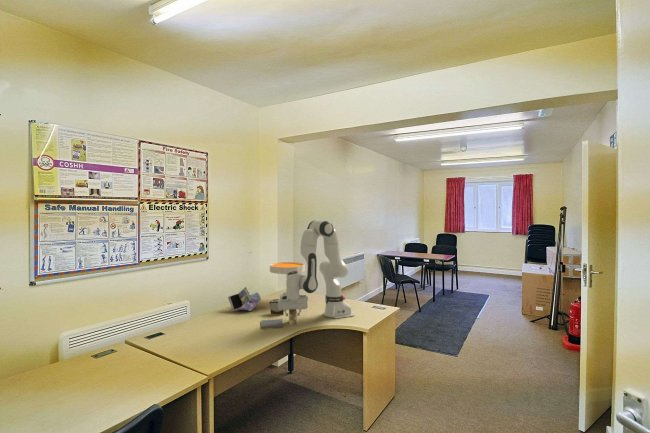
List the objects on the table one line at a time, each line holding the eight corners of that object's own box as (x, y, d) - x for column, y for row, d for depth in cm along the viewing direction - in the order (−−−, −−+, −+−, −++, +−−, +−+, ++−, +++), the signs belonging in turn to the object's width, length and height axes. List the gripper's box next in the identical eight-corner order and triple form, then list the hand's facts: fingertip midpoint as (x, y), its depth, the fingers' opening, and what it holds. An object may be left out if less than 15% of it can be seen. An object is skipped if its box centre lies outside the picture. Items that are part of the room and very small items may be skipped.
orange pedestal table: (292, 295, 300) (292, 260, 300) (311, 302, 278) (312, 264, 277) (263, 300, 282) (263, 264, 281) (281, 308, 259) (281, 268, 258)
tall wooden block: (295, 320, 230) (295, 307, 230) (296, 324, 221) (296, 311, 221) (288, 320, 229) (288, 307, 229) (289, 325, 221) (289, 311, 221)
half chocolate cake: (287, 312, 249) (287, 299, 249) (285, 314, 243) (285, 301, 243) (271, 311, 250) (271, 298, 250) (268, 314, 244) (268, 300, 244)
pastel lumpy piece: (266, 300, 265) (255, 281, 266) (257, 306, 243) (245, 285, 245) (245, 312, 267) (235, 293, 268) (234, 320, 245) (223, 299, 247)
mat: (281, 320, 230) (281, 319, 230) (283, 327, 216) (283, 325, 216) (261, 321, 228) (261, 320, 228) (261, 328, 214) (261, 327, 214)
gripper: (307, 293, 230) (307, 313, 230) (277, 295, 226) (277, 315, 227) (308, 296, 224) (308, 316, 224) (278, 297, 220) (277, 318, 220)
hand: (292, 315), depth 225 cm, fingers open, 6 cm apart
